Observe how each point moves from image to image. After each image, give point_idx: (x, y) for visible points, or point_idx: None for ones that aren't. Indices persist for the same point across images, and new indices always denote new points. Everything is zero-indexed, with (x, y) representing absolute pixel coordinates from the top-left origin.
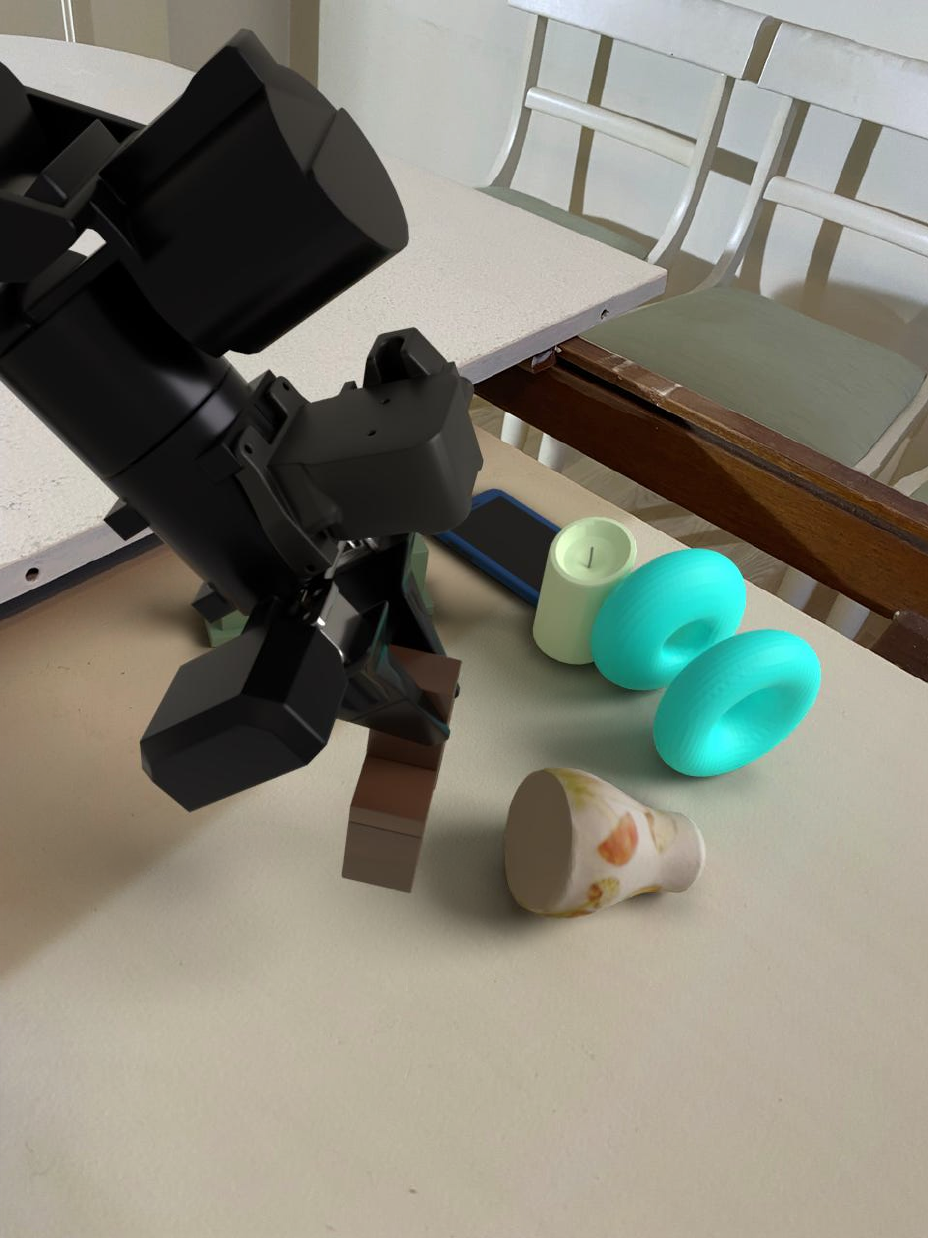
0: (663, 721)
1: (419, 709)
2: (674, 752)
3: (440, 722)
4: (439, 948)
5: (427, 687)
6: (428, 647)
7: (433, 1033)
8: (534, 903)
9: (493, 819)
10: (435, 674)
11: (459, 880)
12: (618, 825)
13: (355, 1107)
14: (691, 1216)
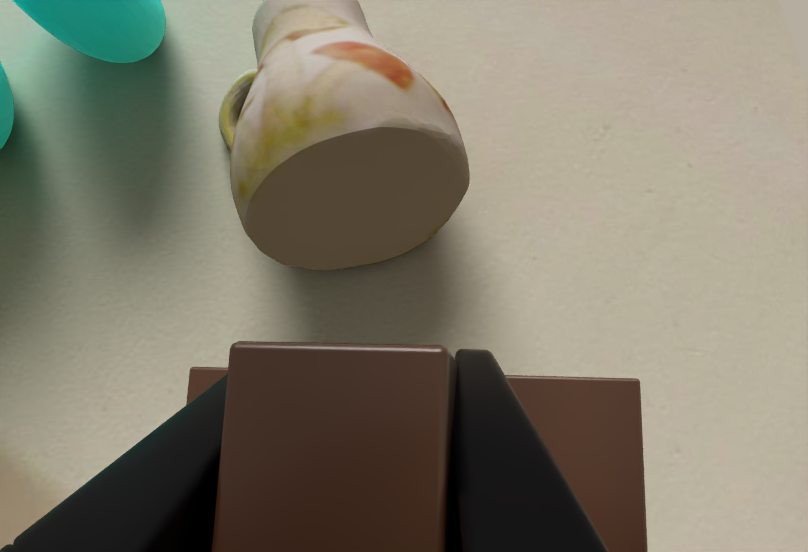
0: (102, 22)
1: (568, 487)
2: (148, 21)
3: (484, 385)
4: (504, 339)
5: (429, 470)
6: (191, 505)
7: (630, 327)
8: (449, 206)
9: (279, 294)
10: (345, 446)
11: (391, 328)
12: (349, 60)
13: (759, 411)
14: (767, 6)
